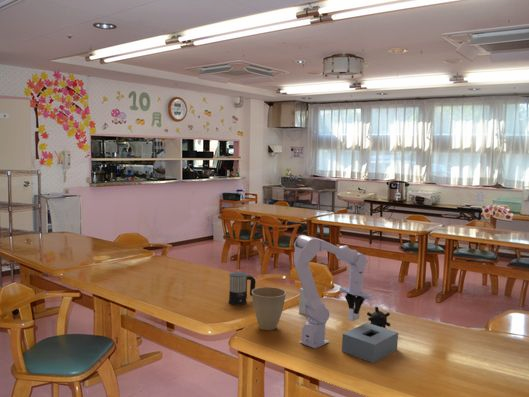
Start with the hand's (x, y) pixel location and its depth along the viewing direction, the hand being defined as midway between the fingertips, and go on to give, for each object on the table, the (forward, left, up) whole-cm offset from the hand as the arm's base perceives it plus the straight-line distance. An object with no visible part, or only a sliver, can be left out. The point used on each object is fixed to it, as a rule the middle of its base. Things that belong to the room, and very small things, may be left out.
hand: (354, 312), depth 193 cm
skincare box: (+8, +32, -11) cm, 34 cm away
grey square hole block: (-7, -12, -10) cm, 17 cm away
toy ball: (+17, -2, -11) cm, 20 cm away
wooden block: (0, 0, -3) cm, 3 cm away
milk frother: (-4, +67, -11) cm, 68 cm away
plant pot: (-20, +31, -11) cm, 38 cm away
